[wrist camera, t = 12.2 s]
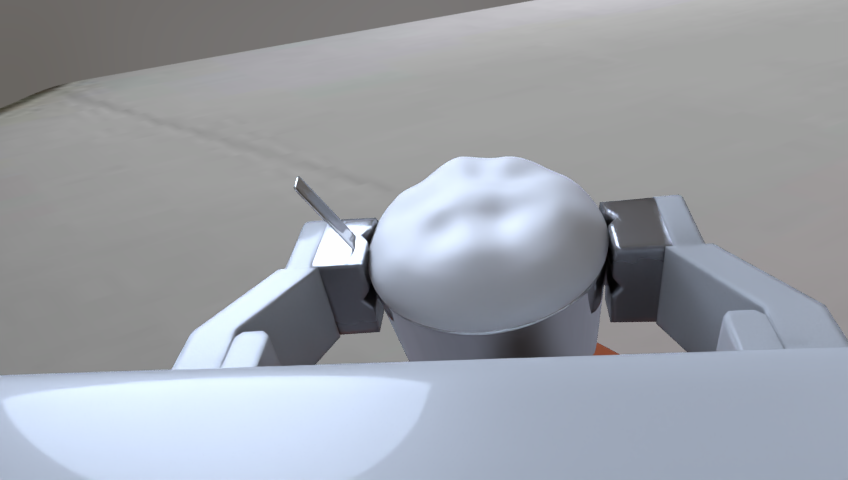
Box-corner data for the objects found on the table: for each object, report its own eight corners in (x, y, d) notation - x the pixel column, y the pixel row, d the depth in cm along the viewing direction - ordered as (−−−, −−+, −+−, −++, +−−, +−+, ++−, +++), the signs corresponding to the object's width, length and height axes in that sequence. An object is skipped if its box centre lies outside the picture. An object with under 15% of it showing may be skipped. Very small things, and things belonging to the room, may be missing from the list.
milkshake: (410, 421, 18) (310, 124, 12) (587, 394, 18) (570, 73, 12) (412, 577, 15) (272, 260, 9) (636, 549, 14) (646, 194, 8)
